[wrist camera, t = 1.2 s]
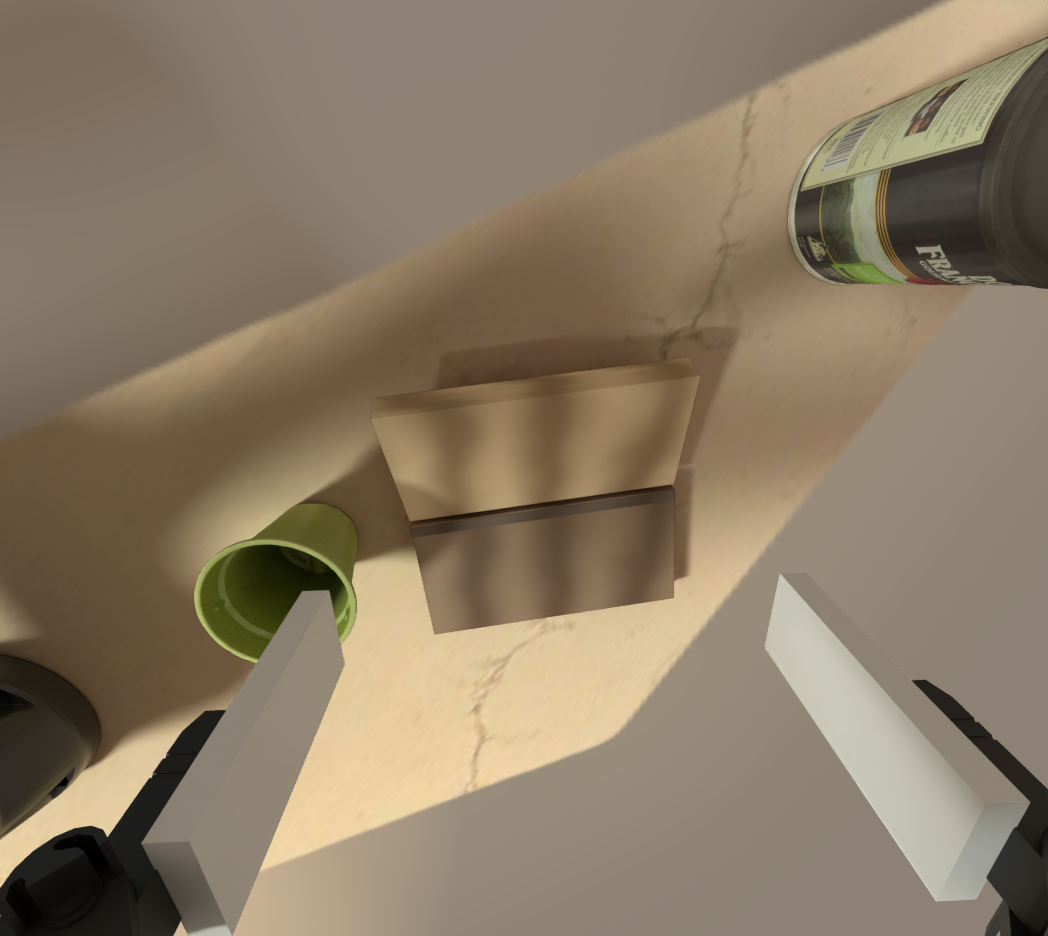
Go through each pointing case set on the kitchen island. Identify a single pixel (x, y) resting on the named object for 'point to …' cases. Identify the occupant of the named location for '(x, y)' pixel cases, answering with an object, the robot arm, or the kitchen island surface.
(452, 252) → the kitchen island surface
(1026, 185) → the coffee can
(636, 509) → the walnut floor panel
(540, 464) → the oak plank
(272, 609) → the plant pot
